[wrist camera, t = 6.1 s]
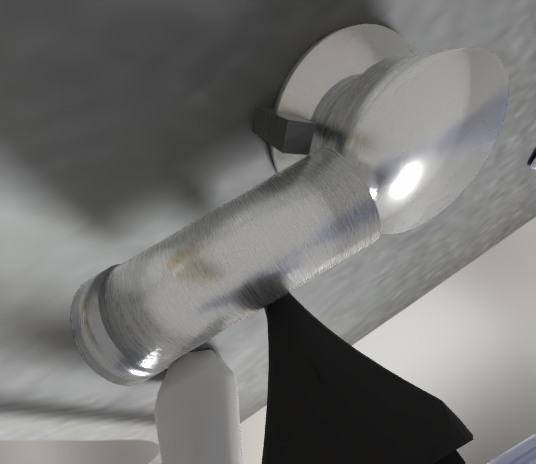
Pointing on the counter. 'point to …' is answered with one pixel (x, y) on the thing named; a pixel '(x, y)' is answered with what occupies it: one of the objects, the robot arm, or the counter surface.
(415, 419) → the robot arm
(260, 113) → the duct stub
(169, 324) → the elbow
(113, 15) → the counter surface
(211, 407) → the salt shaker
